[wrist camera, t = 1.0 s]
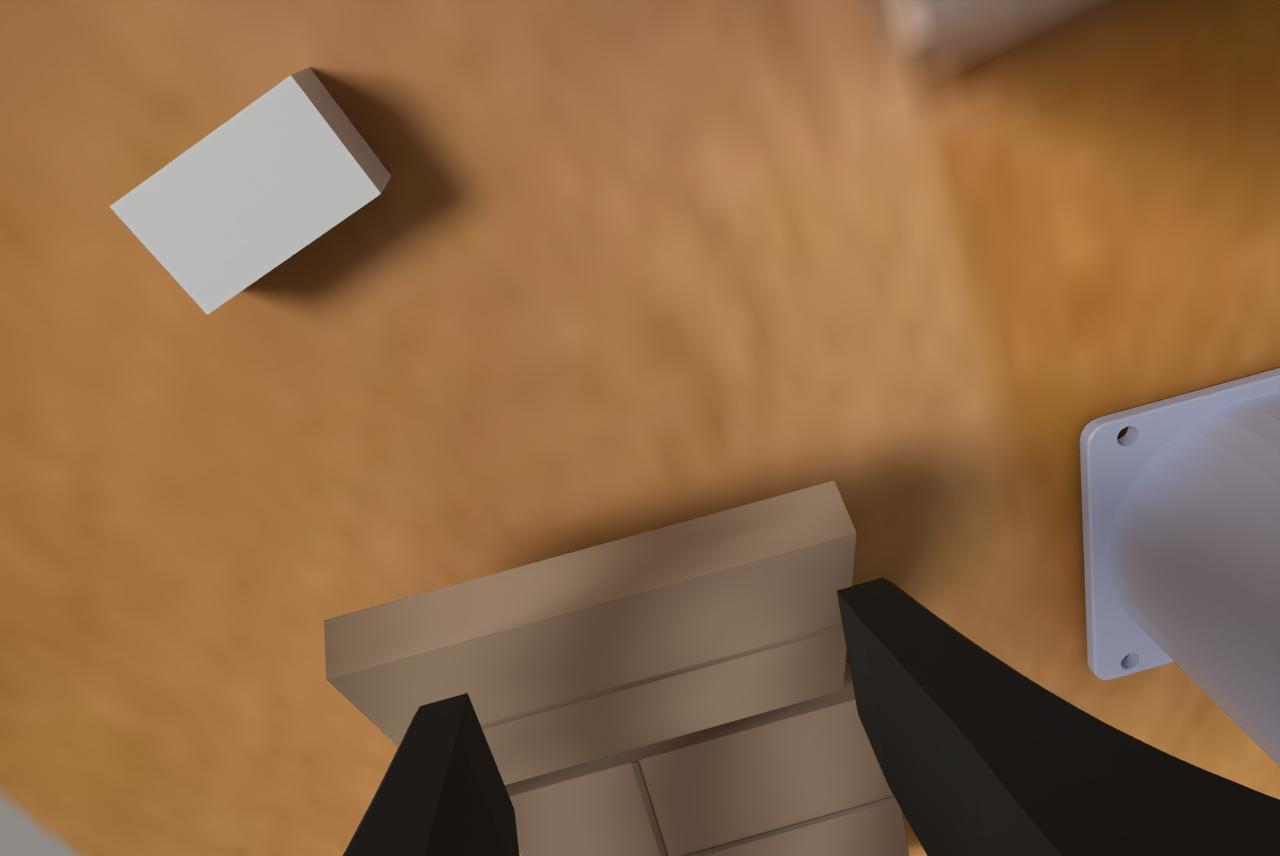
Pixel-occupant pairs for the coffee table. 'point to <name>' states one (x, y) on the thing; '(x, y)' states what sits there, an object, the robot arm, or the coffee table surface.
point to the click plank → (618, 636)
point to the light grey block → (254, 191)
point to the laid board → (724, 792)
